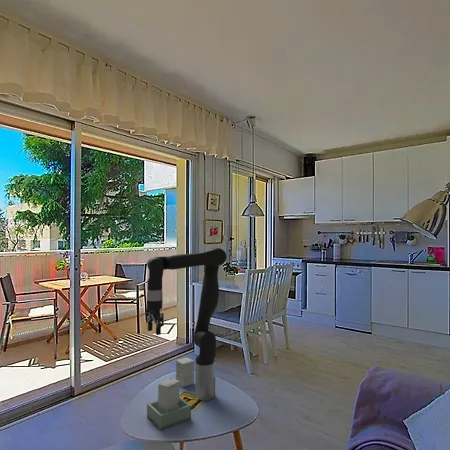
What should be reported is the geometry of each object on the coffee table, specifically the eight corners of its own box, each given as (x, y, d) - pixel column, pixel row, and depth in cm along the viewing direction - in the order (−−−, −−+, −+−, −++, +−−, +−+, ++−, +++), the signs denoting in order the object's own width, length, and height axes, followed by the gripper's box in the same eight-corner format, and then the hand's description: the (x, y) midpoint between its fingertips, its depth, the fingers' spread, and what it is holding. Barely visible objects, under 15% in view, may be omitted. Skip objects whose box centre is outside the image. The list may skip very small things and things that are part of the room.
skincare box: (167, 422, 149) (167, 387, 149) (157, 417, 152) (157, 383, 152) (179, 413, 156) (180, 380, 156) (169, 409, 159) (170, 377, 159)
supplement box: (186, 379, 194) (187, 356, 195) (194, 383, 189) (194, 360, 189) (175, 383, 190) (175, 359, 190) (182, 387, 184) (183, 363, 184)
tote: (176, 407, 164) (176, 394, 164) (190, 418, 153) (191, 405, 153) (146, 417, 154) (147, 403, 155) (160, 430, 144) (160, 416, 144)
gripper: (168, 300, 164) (168, 334, 163) (154, 295, 175) (154, 328, 174) (154, 302, 159) (153, 337, 159) (141, 297, 170) (140, 330, 170)
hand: (154, 332), depth 166 cm, fingers open, 8 cm apart
